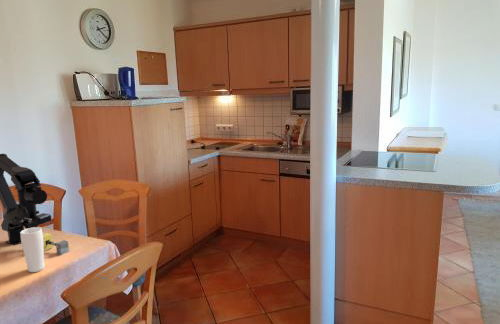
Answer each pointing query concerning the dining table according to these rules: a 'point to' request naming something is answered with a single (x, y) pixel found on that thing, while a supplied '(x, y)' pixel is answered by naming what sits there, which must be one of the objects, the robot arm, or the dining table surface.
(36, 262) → the drinking glass
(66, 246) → the cord fixture
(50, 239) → the sleeve
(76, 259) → the dining table surface
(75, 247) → the dining table surface
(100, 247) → the dining table surface
